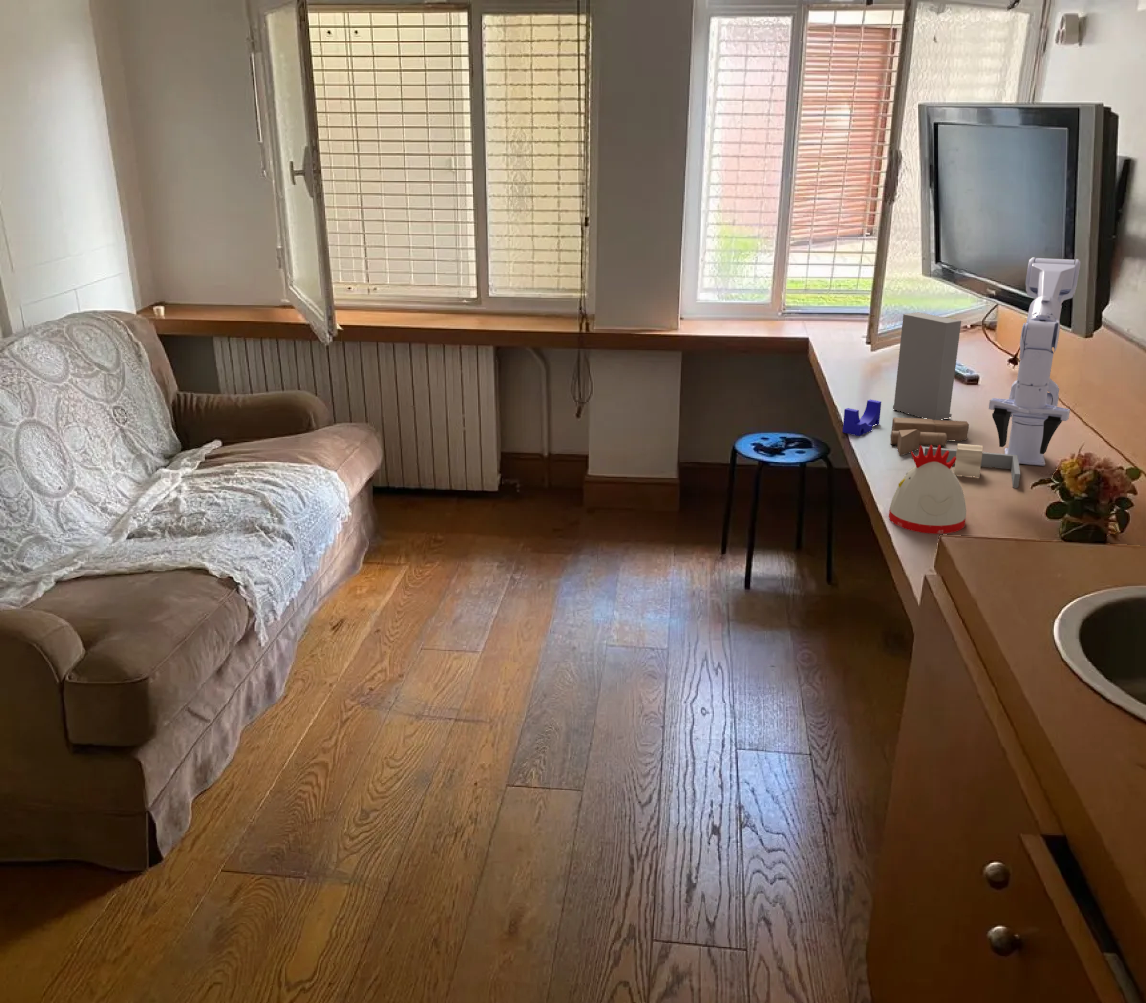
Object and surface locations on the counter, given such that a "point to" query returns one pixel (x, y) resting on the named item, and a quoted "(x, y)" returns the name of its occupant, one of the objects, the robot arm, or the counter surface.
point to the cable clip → (862, 418)
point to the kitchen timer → (929, 496)
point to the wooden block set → (925, 433)
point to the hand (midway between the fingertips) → (1022, 449)
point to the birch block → (968, 460)
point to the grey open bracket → (990, 461)
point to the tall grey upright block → (926, 365)
